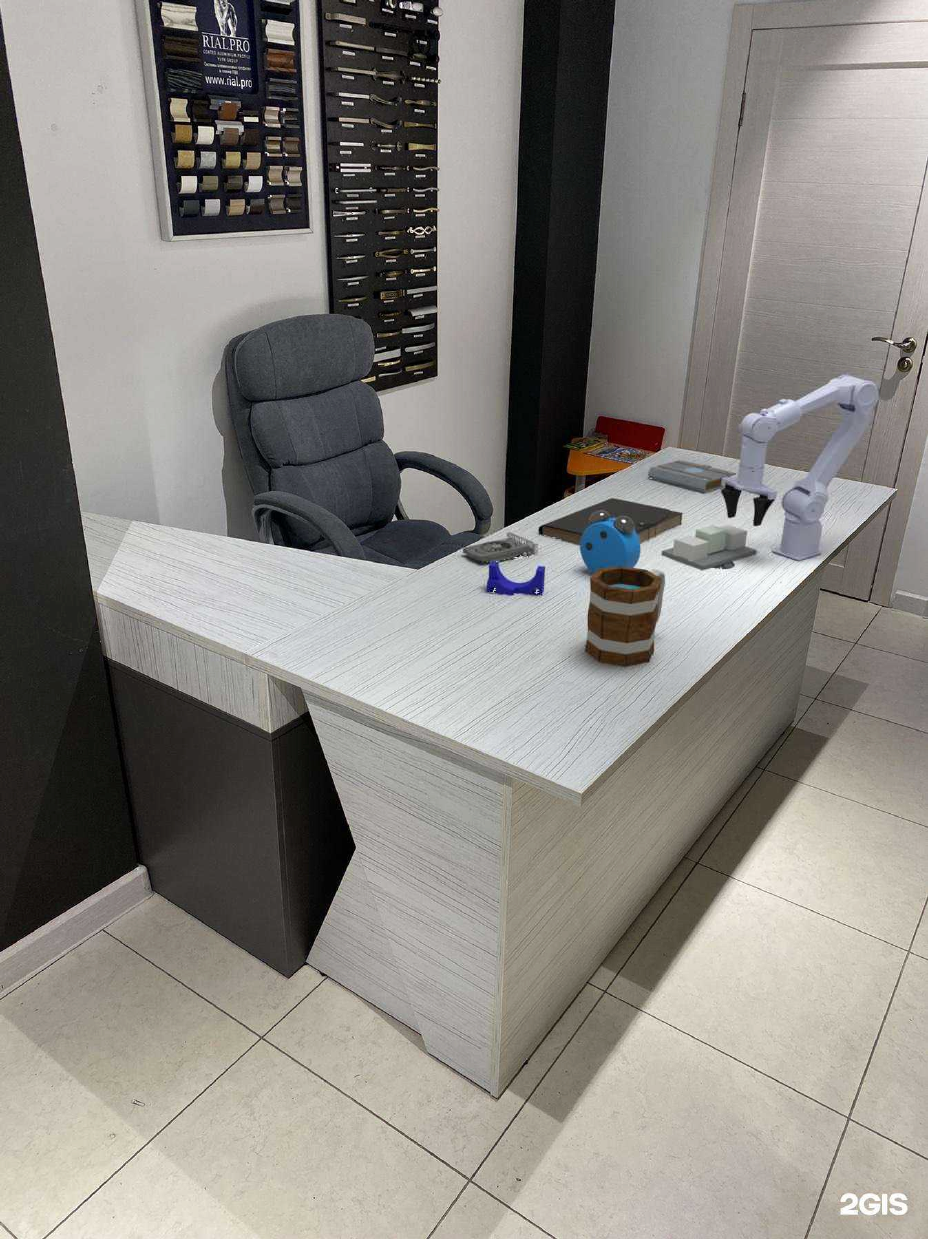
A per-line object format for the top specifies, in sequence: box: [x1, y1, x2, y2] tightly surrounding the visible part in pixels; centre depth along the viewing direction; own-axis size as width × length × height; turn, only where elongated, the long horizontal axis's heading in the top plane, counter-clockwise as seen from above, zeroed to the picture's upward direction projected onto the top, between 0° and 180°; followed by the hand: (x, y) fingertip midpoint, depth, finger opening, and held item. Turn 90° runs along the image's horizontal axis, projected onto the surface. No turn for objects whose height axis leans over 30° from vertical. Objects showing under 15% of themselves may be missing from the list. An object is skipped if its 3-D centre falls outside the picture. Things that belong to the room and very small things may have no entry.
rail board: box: [661, 545, 758, 571], centre depth 235 cm, size 20×13×1 cm, turn 127°
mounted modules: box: [672, 524, 748, 562], centre depth 234 cm, size 20×6×4 cm, turn 127°
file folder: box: [538, 497, 684, 546], centre depth 252 cm, size 33×4×24 cm
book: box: [647, 459, 737, 494], centre depth 296 cm, size 21×16×5 cm
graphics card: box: [462, 531, 539, 564], centre depth 233 cm, size 17×4×12 cm
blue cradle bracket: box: [486, 561, 546, 597], centre depth 210 cm, size 12×4×6 cm, turn 76°
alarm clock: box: [579, 510, 641, 574], centre depth 218 cm, size 13×6×15 cm, turn 47°
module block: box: [694, 524, 727, 554], centre depth 234 cm, size 6×4×5 cm
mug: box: [584, 566, 666, 668], centre depth 183 cm, size 20×14×15 cm
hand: (744, 521), depth 229 cm, fingers open, 7 cm apart
